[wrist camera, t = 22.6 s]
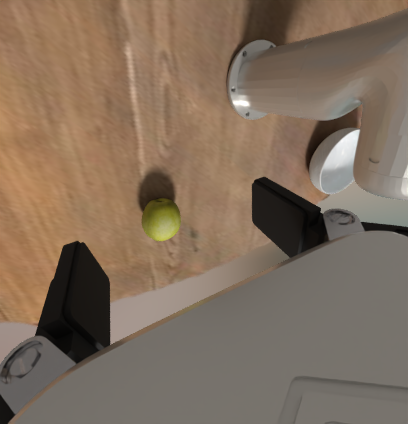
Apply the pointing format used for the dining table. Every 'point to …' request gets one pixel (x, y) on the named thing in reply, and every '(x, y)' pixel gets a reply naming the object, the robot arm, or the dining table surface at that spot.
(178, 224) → the apple
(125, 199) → the dining table surface
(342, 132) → the cereal bowl
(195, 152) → the dining table surface
